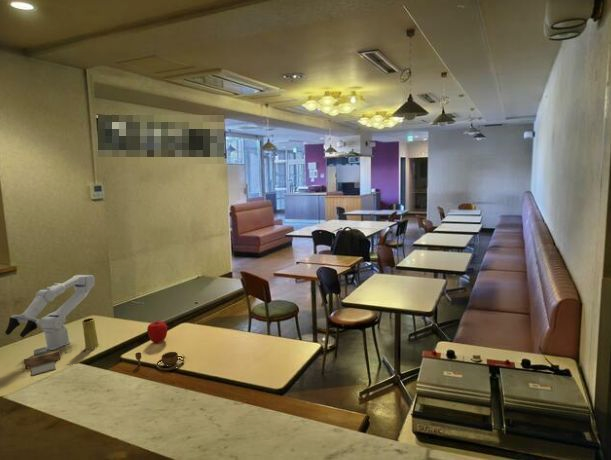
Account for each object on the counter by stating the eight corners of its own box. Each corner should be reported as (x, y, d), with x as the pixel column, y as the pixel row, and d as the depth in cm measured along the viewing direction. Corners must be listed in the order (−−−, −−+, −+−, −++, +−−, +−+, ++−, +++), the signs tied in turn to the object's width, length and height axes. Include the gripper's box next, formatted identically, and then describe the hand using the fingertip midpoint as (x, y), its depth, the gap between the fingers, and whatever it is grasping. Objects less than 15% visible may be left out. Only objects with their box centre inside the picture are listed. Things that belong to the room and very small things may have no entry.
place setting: (162, 377, 177) (161, 364, 176) (134, 366, 188) (132, 354, 187) (194, 360, 191) (193, 348, 190) (165, 350, 202) (164, 339, 201)
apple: (164, 345, 207) (162, 324, 205) (145, 346, 207) (142, 325, 205) (171, 337, 217) (169, 317, 215) (153, 337, 217) (150, 318, 215)
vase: (85, 350, 206) (81, 323, 204) (85, 346, 211) (81, 319, 209) (99, 347, 209) (95, 320, 206) (98, 343, 214) (94, 316, 212)
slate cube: (47, 356, 202) (45, 346, 201) (47, 360, 198) (46, 350, 197) (35, 359, 200) (33, 349, 199) (35, 363, 195) (33, 353, 194)
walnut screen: (60, 358, 199) (59, 350, 199) (60, 359, 198) (59, 351, 198) (25, 367, 192) (23, 359, 191) (25, 368, 191) (23, 360, 190)
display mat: (54, 361, 196) (54, 360, 196) (55, 369, 188) (55, 368, 188) (31, 367, 191) (31, 366, 191) (32, 375, 184) (31, 374, 183)
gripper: (16, 303, 200) (-5, 327, 190) (42, 308, 197) (23, 332, 188) (23, 312, 205) (3, 336, 195) (49, 316, 202) (31, 341, 193)
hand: (14, 335), depth 192 cm, fingers open, 7 cm apart
